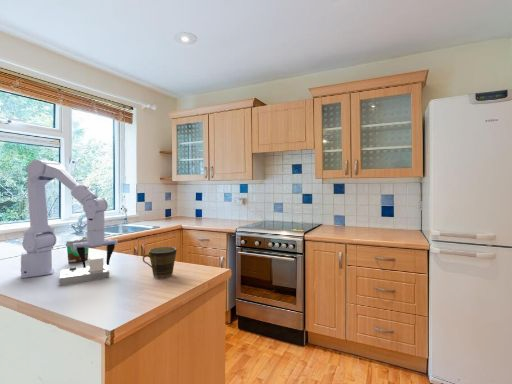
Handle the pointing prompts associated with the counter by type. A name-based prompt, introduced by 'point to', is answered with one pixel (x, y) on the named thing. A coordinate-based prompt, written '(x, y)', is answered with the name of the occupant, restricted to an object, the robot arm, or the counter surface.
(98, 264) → the plug
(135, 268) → the counter surface
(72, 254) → the food container
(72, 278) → the socket
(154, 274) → the ceramic cup
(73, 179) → the robot arm
